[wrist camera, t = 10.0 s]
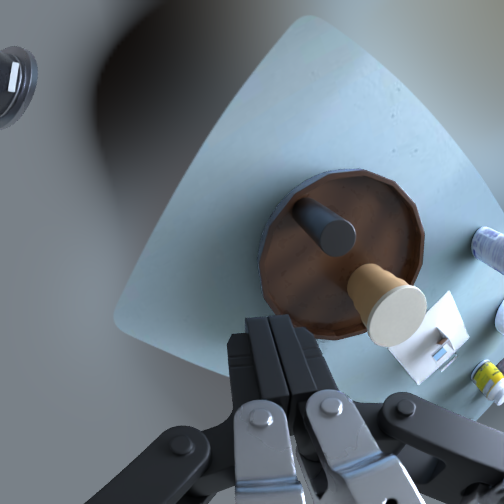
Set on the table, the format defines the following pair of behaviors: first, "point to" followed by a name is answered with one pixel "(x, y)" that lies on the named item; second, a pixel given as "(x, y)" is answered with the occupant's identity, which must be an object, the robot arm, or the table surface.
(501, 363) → the lantern
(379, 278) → the paper cups
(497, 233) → the energy drink
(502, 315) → the mug
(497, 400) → the pill bottle
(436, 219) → the table surface
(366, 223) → the tray
